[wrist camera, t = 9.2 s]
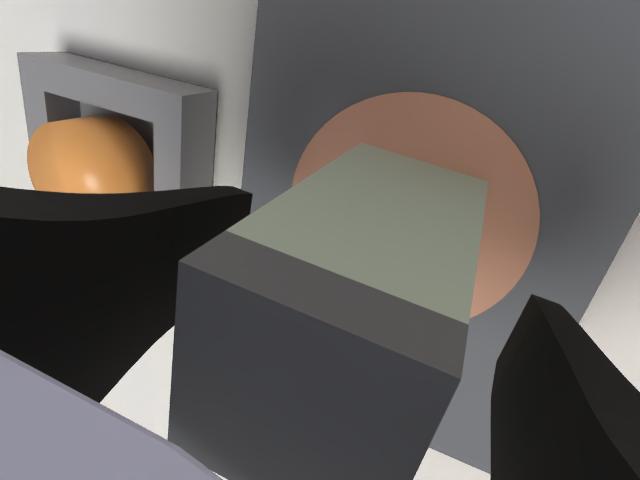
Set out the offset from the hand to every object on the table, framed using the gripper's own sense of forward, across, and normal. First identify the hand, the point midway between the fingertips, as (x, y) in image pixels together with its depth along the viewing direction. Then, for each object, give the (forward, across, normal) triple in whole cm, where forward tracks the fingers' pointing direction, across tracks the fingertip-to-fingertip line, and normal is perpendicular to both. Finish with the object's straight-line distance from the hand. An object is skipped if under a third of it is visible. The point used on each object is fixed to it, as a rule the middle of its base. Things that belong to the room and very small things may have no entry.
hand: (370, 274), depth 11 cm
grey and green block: (+4, 0, 0) cm, 4 cm away
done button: (+3, +11, +1) cm, 12 cm away
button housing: (+4, +11, +1) cm, 12 cm away
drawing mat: (+4, 0, 0) cm, 4 cm away
